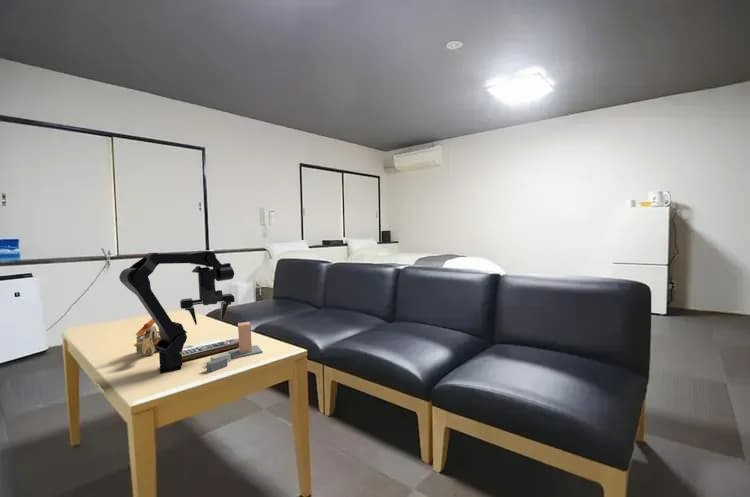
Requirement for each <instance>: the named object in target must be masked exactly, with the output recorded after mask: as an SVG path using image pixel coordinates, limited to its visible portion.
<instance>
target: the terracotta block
mask: <svg viewBox="0 0 750 497" xmlns="http://www.w3.org/2000/svg"><path fill="white" fill-rule="evenodd" d="M251 326H252V325H251V322H250V321H244V322H238V323H237V329H238V330H237V332H238V349H239V352H240V354H241V353H247V352H252V346H253V345H252V330H251V329H252V327H251Z"/></svg>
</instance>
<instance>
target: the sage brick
mask: <svg viewBox="0 0 750 497" xmlns="http://www.w3.org/2000/svg"><path fill="white" fill-rule="evenodd" d="M221 357H223V358H227V363H230V362H231V361H232V356H231V354H230V353H229V352H222V353H219V354H216V355H213V356H210V361H213V360H216V359H218V358H221Z"/></svg>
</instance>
